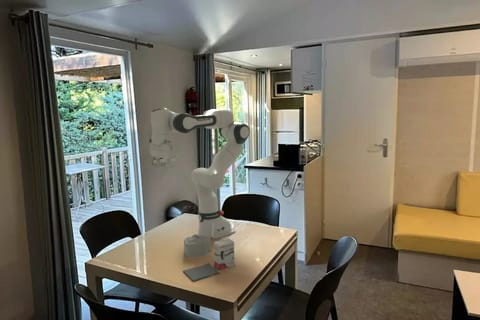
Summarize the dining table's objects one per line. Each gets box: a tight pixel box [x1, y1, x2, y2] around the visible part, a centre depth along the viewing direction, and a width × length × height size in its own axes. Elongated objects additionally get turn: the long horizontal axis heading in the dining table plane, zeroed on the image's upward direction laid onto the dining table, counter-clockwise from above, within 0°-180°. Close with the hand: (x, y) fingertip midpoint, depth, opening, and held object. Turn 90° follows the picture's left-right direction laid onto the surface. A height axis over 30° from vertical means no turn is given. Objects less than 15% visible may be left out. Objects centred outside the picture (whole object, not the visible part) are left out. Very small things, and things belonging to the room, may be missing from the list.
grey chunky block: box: [183, 233, 212, 259], centre depth 174 cm, size 10×13×9 cm
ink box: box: [213, 238, 236, 271], centre depth 158 cm, size 8×5×12 cm, turn 123°
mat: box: [182, 263, 221, 282], centre depth 153 cm, size 13×11×1 cm
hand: (163, 166), depth 177 cm, fingers open, 8 cm apart
